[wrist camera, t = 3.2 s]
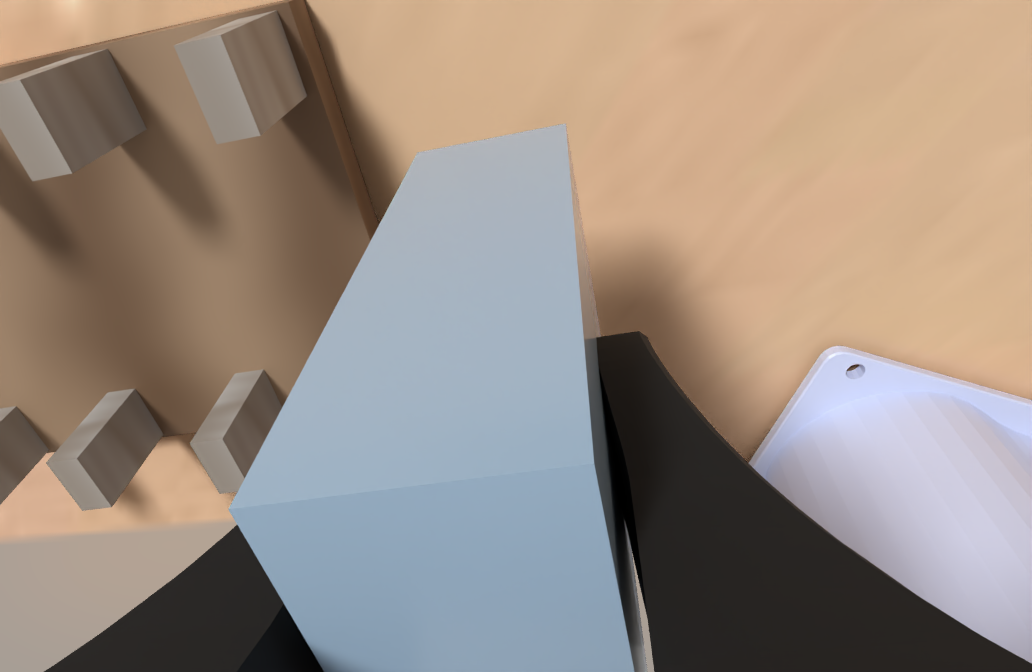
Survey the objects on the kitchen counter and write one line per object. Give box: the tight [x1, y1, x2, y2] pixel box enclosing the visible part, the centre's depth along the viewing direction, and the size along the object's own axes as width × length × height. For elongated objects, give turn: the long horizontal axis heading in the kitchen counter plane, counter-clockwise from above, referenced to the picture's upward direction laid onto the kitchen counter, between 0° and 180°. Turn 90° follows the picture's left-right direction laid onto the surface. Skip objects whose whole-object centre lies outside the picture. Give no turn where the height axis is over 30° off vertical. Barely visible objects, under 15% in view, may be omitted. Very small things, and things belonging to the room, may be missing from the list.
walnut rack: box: [0, 0, 379, 511], centre depth 17 cm, size 14×11×4 cm
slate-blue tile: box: [228, 124, 647, 672], centre depth 9 cm, size 2×6×8 cm, turn 12°
